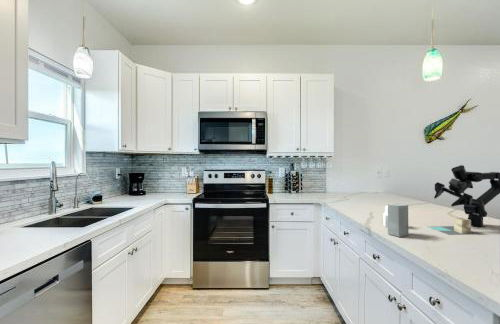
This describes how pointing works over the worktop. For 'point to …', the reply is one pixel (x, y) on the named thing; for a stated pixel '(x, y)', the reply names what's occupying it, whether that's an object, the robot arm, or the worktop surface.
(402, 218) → the skincare box
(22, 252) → the worktop surface
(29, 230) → the worktop surface
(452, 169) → the robot arm
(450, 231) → the mat
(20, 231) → the worktop surface
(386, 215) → the medicine bottle
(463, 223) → the maple block
